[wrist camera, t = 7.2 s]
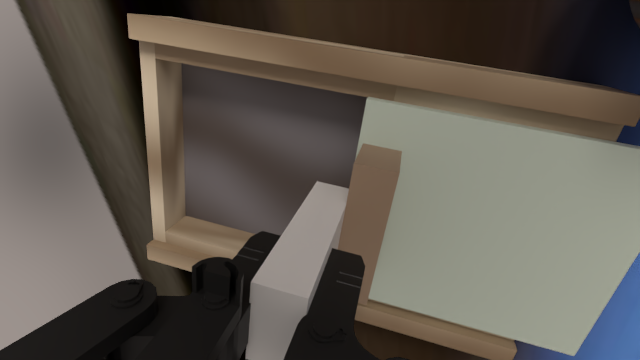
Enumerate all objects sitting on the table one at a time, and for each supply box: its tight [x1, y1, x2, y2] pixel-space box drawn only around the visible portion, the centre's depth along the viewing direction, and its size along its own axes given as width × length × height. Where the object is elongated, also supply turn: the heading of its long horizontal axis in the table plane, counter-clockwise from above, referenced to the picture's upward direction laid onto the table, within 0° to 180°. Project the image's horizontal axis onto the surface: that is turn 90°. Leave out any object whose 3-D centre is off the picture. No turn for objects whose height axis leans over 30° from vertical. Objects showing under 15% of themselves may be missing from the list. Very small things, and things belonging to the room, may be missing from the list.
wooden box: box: [127, 13, 640, 360], centre depth 17 cm, size 13×20×3 cm, turn 82°
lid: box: [338, 97, 640, 356], centre depth 14 cm, size 10×11×3 cm
